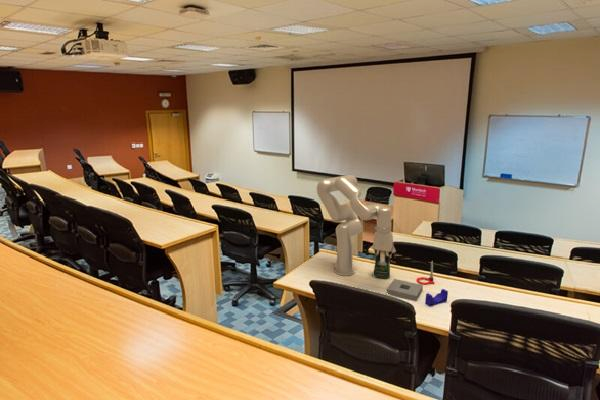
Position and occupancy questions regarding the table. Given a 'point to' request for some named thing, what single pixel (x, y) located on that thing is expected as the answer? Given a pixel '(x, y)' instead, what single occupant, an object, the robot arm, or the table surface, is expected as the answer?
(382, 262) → the orange and cream cylinder
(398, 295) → the hitch plate
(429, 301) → the cable clip
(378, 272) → the coffee jar
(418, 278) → the tow hook
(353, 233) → the robot arm
